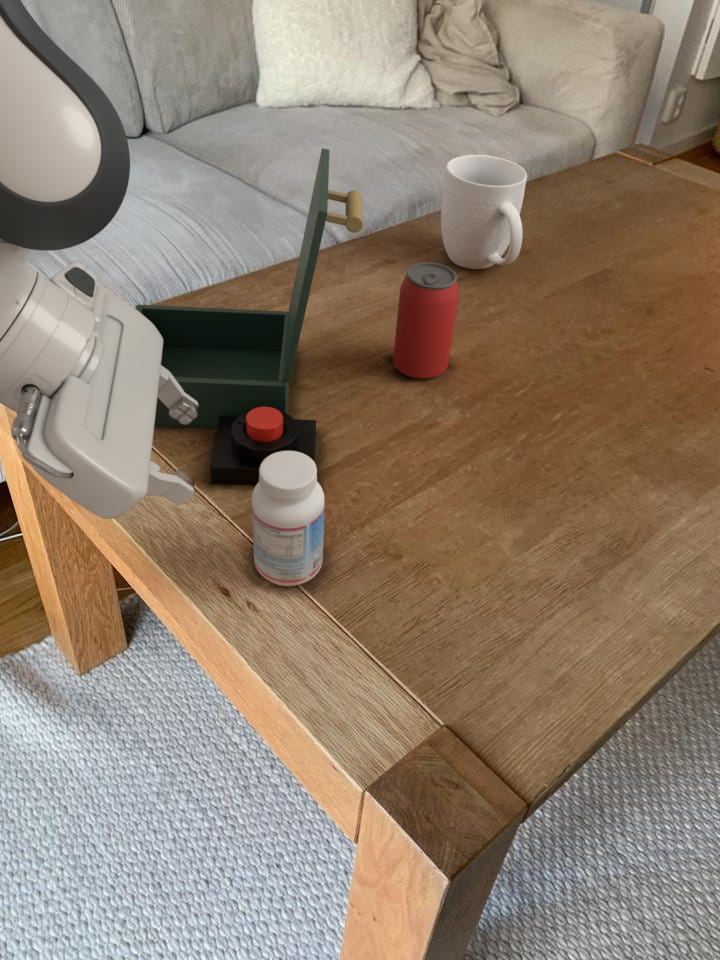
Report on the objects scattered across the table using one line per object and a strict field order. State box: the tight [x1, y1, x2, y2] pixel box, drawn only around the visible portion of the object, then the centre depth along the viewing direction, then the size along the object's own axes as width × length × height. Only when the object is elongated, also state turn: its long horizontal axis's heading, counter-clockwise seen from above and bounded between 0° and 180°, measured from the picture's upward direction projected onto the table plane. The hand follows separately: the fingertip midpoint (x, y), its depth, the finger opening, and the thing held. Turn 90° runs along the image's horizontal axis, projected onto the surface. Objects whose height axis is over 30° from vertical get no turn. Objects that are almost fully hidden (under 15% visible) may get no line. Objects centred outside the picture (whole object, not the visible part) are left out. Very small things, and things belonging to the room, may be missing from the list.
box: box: [134, 304, 291, 429], centre depth 90 cm, size 18×15×6 cm
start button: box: [246, 407, 283, 442], centre depth 80 cm, size 4×4×2 cm
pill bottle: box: [251, 451, 326, 587], centre depth 69 cm, size 6×6×11 cm
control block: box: [209, 410, 317, 486], centre depth 82 cm, size 10×8×4 cm
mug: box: [440, 154, 528, 270], centre depth 113 cm, size 15×11×13 cm
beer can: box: [392, 261, 460, 380], centre depth 93 cm, size 7×7×12 cm
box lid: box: [282, 147, 364, 384], centre depth 82 cm, size 18×15×5 cm
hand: (191, 452), depth 64 cm, fingers open, 8 cm apart
